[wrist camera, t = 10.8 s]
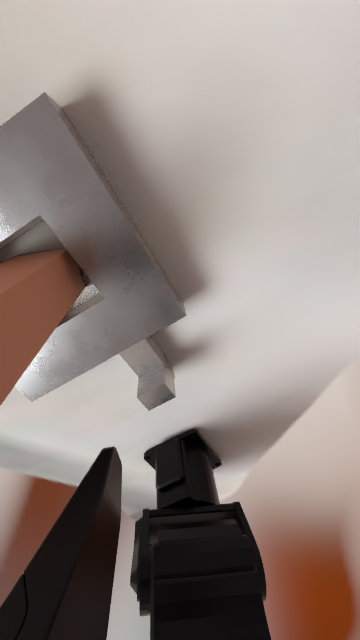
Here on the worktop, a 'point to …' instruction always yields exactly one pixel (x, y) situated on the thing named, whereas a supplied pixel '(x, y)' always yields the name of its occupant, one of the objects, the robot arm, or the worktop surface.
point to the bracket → (151, 372)
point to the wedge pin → (32, 307)
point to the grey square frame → (79, 245)
